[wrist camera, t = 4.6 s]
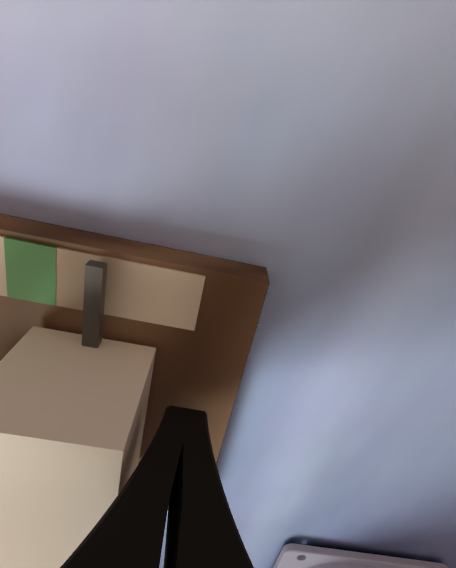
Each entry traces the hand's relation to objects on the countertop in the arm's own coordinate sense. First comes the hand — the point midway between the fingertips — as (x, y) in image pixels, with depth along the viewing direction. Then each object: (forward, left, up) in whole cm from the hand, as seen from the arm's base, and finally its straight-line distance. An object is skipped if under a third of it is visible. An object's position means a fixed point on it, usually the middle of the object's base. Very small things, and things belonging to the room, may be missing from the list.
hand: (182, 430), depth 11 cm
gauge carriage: (+4, 0, -1) cm, 5 cm away
